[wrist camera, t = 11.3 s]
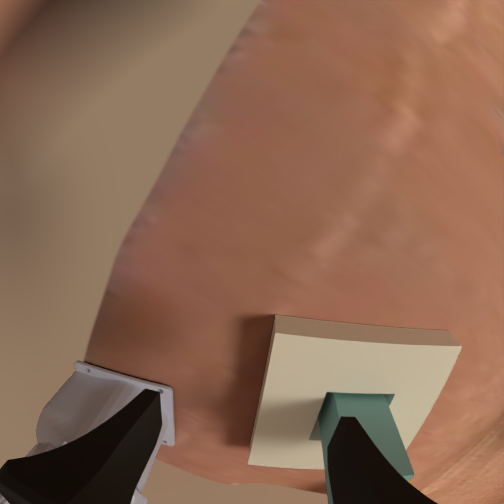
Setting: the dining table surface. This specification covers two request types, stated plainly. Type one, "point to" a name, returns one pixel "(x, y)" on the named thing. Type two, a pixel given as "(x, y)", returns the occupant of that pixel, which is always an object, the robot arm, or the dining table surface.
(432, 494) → the dining table surface
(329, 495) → the teal square peg
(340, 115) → the dining table surface
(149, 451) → the robot arm
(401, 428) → the keyed socket plate
